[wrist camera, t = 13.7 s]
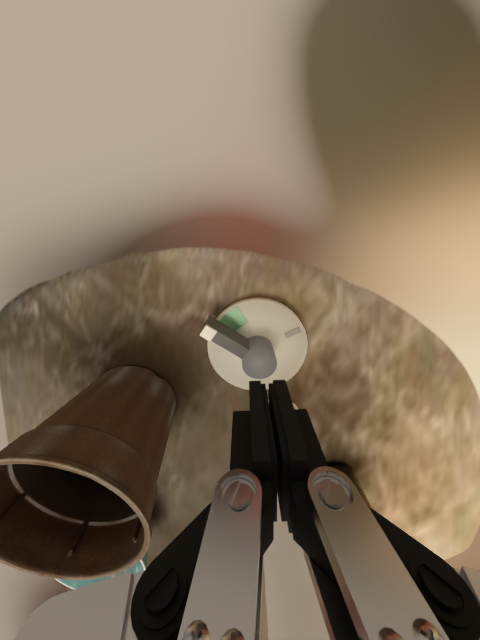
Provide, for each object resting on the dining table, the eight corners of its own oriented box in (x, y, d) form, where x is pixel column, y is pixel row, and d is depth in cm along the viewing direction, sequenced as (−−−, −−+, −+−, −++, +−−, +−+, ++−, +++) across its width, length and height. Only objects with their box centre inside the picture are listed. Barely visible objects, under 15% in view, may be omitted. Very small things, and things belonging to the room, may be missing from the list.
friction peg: (279, 346, 28) (284, 359, 25) (261, 368, 29) (263, 384, 26) (215, 306, 26) (212, 315, 23) (199, 332, 28) (193, 344, 24)
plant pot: (203, 431, 36) (174, 574, 20) (110, 447, 37) (18, 591, 22) (171, 342, 30) (99, 444, 15) (63, 364, 32) (-103, 478, 16)
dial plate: (317, 308, 28) (322, 312, 27) (289, 391, 33) (291, 398, 31) (218, 287, 28) (216, 290, 26) (202, 374, 32) (200, 381, 30)
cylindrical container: (260, 438, 36) (294, 817, 12) (248, 403, 33) (263, 788, 10) (303, 429, 35) (429, 813, 12) (295, 393, 33) (429, 781, 9)
